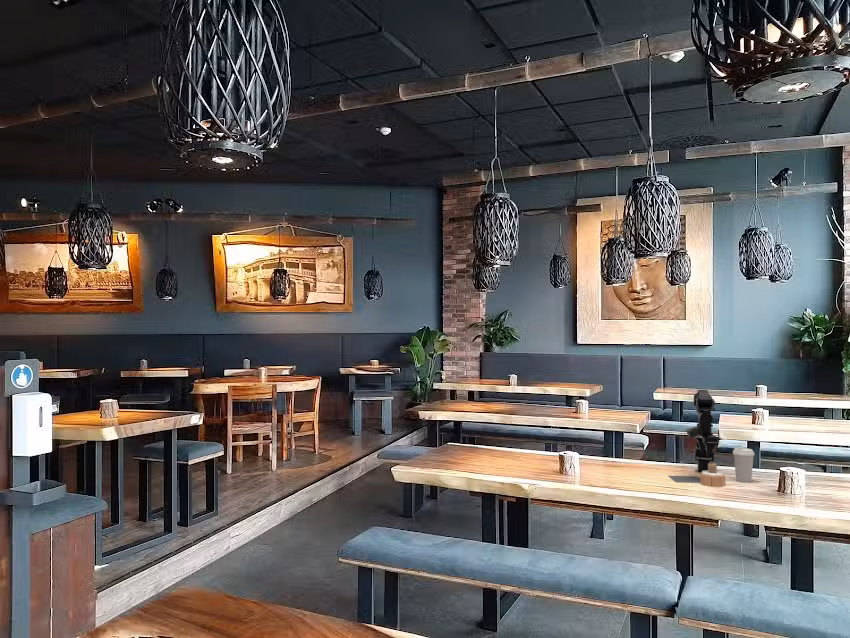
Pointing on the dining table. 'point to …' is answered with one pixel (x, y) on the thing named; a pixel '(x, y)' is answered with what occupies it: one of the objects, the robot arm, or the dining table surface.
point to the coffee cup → (743, 464)
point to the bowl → (712, 481)
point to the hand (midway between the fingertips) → (705, 454)
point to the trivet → (685, 479)
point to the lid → (712, 471)
